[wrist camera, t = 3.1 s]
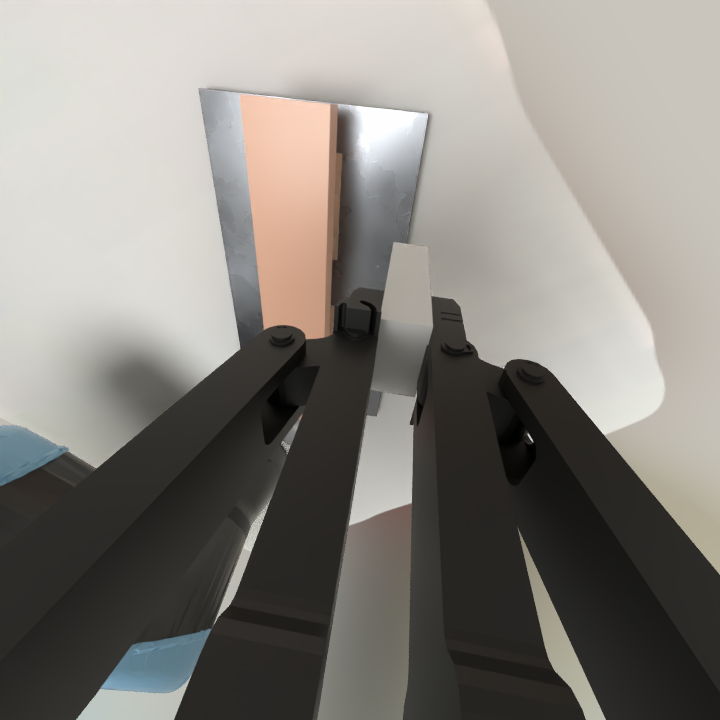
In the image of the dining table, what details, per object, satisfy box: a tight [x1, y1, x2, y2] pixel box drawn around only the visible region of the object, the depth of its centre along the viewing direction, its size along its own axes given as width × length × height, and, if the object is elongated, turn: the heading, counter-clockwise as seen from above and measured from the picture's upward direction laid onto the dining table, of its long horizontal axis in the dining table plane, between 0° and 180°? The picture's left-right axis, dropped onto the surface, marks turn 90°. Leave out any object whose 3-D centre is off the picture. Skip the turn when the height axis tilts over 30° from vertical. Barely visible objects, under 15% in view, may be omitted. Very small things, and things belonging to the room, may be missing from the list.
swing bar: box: [239, 94, 338, 445], centre depth 24 cm, size 26×4×3 cm, turn 175°
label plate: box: [198, 88, 428, 416], centre depth 27 cm, size 26×14×4 cm, turn 175°
